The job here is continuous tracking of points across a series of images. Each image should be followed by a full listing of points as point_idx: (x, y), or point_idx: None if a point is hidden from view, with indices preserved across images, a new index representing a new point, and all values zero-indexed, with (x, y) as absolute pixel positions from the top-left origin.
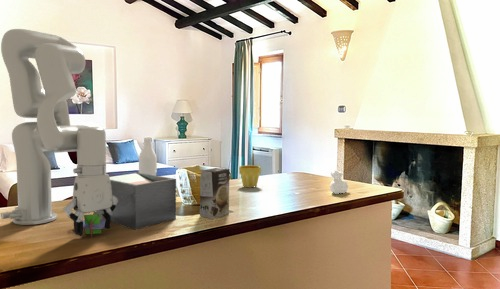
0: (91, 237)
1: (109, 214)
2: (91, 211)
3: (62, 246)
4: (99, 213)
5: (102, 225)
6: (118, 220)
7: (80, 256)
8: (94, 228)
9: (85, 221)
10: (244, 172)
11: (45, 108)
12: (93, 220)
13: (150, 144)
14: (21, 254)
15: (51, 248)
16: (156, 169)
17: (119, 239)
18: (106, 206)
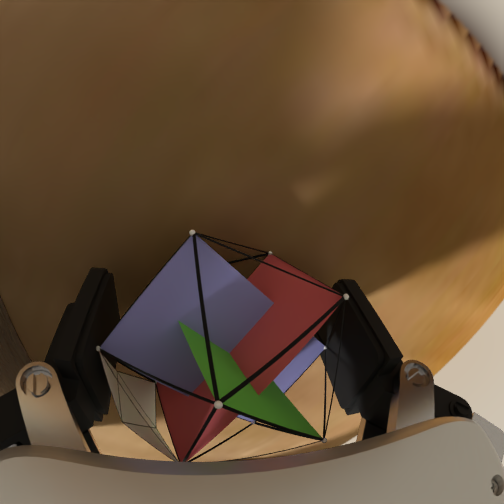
0: (268, 253)
1: (53, 372)
2: (395, 440)
3: (436, 252)
4: (136, 433)
5: (174, 287)
6: (3, 342)
7: (497, 67)
8: (254, 293)
9: (282, 392)
10: None
11: None
12: (239, 375)
13: None
14: (497, 284)
15: (458, 265)
16: None
17: (168, 34)
18: (93, 496)
